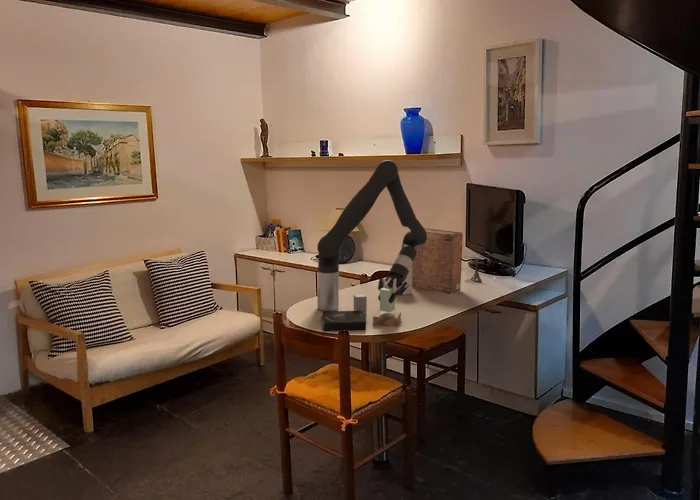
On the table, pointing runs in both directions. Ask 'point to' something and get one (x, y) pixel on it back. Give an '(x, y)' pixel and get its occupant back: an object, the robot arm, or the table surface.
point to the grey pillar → (360, 303)
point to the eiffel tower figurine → (474, 276)
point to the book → (438, 262)
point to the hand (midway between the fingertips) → (384, 301)
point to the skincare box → (409, 281)
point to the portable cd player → (343, 320)
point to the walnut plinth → (387, 318)
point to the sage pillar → (386, 299)
